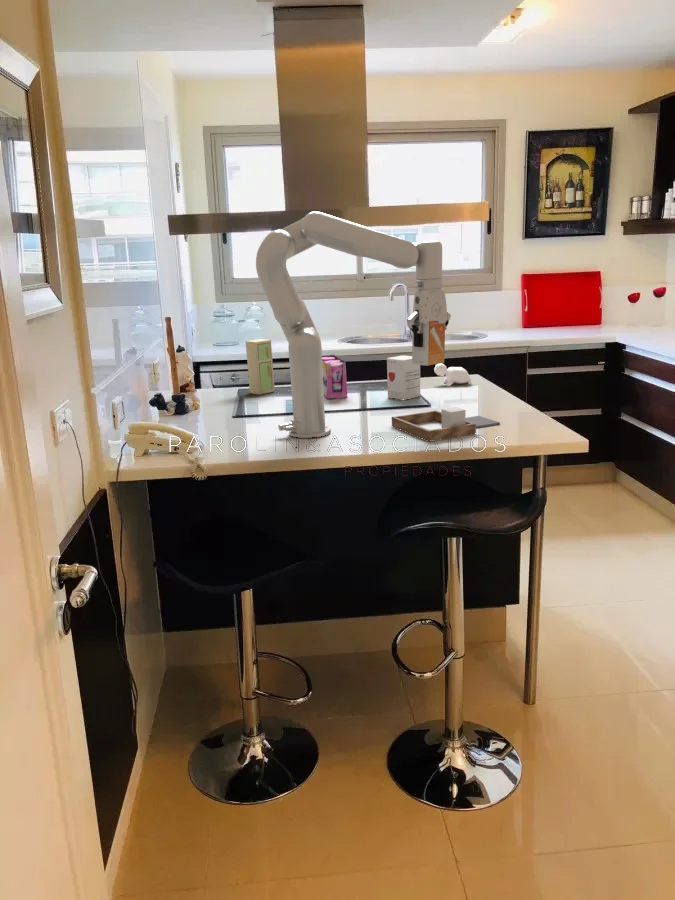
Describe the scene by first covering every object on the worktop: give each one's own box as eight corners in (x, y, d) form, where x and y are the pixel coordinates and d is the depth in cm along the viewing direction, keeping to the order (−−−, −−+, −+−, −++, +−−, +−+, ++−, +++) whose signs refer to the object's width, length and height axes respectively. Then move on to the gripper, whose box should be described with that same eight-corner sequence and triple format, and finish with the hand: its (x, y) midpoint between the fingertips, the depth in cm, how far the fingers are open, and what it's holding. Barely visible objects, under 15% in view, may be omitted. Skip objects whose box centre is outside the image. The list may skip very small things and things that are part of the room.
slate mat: (469, 429, 209) (469, 427, 209) (449, 422, 219) (449, 420, 219) (499, 424, 214) (499, 422, 213) (478, 417, 223) (478, 415, 223)
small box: (428, 366, 204) (428, 321, 201) (411, 364, 209) (411, 320, 205) (445, 362, 210) (445, 318, 206) (428, 361, 214) (428, 318, 211)
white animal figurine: (462, 389, 286) (428, 377, 284) (470, 369, 284) (436, 357, 282) (467, 393, 278) (432, 381, 276) (475, 373, 275) (439, 360, 274)
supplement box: (386, 398, 260) (385, 358, 256) (403, 394, 266) (402, 354, 262) (404, 401, 253) (404, 359, 249) (421, 397, 259) (420, 356, 255)
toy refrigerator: (260, 395, 277) (256, 342, 271) (249, 393, 282) (245, 340, 276) (276, 392, 282) (272, 339, 276) (265, 390, 287) (261, 338, 282)
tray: (428, 441, 198) (428, 431, 197) (391, 426, 217) (391, 416, 216) (476, 433, 204) (476, 423, 203) (436, 419, 223) (435, 410, 223)
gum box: (348, 398, 263) (347, 362, 259) (328, 400, 261) (326, 364, 258) (336, 387, 285) (334, 354, 282) (317, 389, 284) (315, 355, 280)
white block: (450, 435, 203) (450, 412, 202) (441, 432, 208) (441, 409, 206) (465, 433, 205) (465, 409, 203) (455, 429, 210) (455, 406, 208)
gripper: (416, 287, 195) (417, 349, 200) (459, 283, 205) (458, 342, 210) (398, 287, 201) (399, 347, 205) (440, 283, 211) (440, 341, 216)
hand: (429, 344), depth 208 cm, fingers closed on small box, 8 cm apart
